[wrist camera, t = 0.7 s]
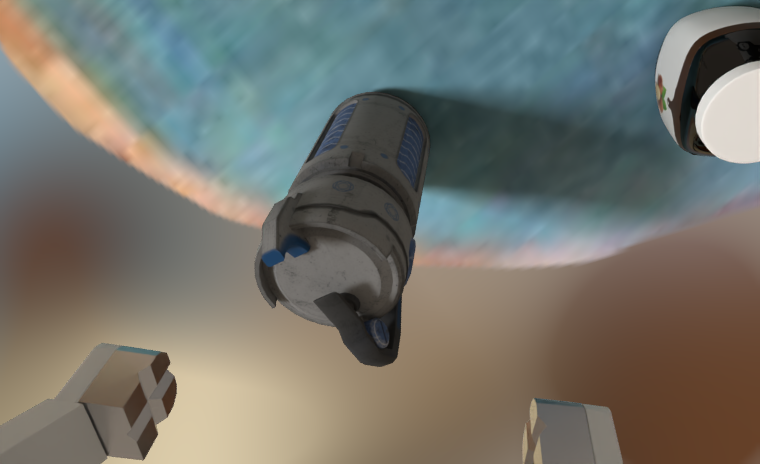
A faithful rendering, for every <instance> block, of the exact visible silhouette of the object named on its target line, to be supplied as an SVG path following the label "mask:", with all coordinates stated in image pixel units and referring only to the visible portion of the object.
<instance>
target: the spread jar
mask: <svg viewBox="0 0 760 464" xmlns="http://www.w3.org/2000/svg"><path fill="white" fill-rule="evenodd" d="M655 89H656V97H657V103H658V108H659V111H660V115H661V118H662V120H663V122H664V124H665V126H666V128H667V129H668V131H669V133H670V134H671V136H672V137H673V139H674V140H675V142H676V143H677V144H678V145H679V146H680V147H681V148H682V149H683V150H685V151H687V152H689V153H691V154H693V155H700V156H709V157H718V158H720V159H723V160H725V161H728V162H733V163H754V162H760V9H758V8H753V7H745V6H727V7H717V8H711V9H706V10H702V11H699V12H696V13H693V14H690V15H688V16H686V17H684V18H682V19H680V20H679V21H678V22H676V23H675V24H674V25H673V26H672V28H671V29H670V30H669V32H668V33H667V35H666V37H665V39H664V41H663V43H662V45H661V48H660V51H659V54H658V57H657V62H656V68H655Z"/></svg>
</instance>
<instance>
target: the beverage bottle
mask: <svg viewBox="0 0 760 464" xmlns="http://www.w3.org/2000/svg"><path fill="white" fill-rule="evenodd" d="M429 151H430V137H429V133H428V129H427V126H426V124H425V122H424V120H423V118H422V117H421V116H420V114H419V113H418V112H417V111H416V110H415V109H414V108H413V107H412V106H411V105H410V104H409V103H407V102H406V101H404V100H402V99H400V98H399V97H396V96H393V95H391V94H387V93H381V92H366V93H361V94H357V95H355V96H352V97H350V98H348V99H346V100H345V101H344V102H342V103H341V104H340V105H339V106H338V107H337V108H336V109H335V110H334V111H333V113H332V114H331V116H330V118H329V120H328V122H327V123H326V125H325V127H324V129H323V130H322V132H321V134H320V136H319V137H318V139H317V141H316V143H315V145H314V146H313V148H312V150H311V152H310V153H309V155H308V157H307V159H306V160H305V162H304V164H303V166H302V168H301V169H300V171H299V173H298V175H297V176H296V178H295V180H294V182H293V184H292V185H291V187H290V189H289V192H288V195H287V196H286V197H285V198H284V199H283V200H281V201H279V202H278V203H276V204H274V206H273V208H272V210H271V211H270V213H269V215H268V216H267V218H266V220H265V222H264V223H263V226H262V240H261V243H260V245H259V247H258V249H257V254H256V258H255V278H256V282H257V285H258V288H259V289H260V292H261V294H262V295H263V297H264V298H265V300H266V301H267V302H268V303H269V305H270V306H271V307H272V308H275V307H276V301H277V300H278V301H279V302H280V303H281V304H282V305H283V306H285V307H286V308H288V309H289V310H290V311H292V312H293V313H295V314H296V315H298V316H300V317H303V318H304V319H307V320H309V321H312V322H315V323H318V324H321V325H327V326H332V327H336V328H337V329H338V330H339V332H340V335H341V337H342V340H343V343H344V344H345V345H346V346H347V348H348V349H349V350H350V351H351V352H352V354H353V355H354V356H355V357H356V358H357V359H358V360H359V361H360V363H363V364H365V365H371V366H377V367H382V366H385V365H388V364H391V363H393V362H394V361H395V359H396V358H397V355H398V348H399V342H400V335H401V334H400V333H401V303H402V301H401V300H402V293H403V289H404V286H405V285H406V283H407V281H408V279H409V277H410V274H411V270H412V265H413V259H414V253H415V247H416V245H415V240H414V239H413V237H414V235H415V230H416V224H417V219H418V213H419V207H420V202H421V196H422V190H423V185H424V179H425V173H426V168H427V162H428V157H429Z"/></svg>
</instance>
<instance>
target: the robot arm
mask: <svg viewBox="0 0 760 464" xmlns="http://www.w3.org/2000/svg"><path fill="white" fill-rule="evenodd" d="M169 365H170V360H169V357H168V355H167V353H165V352H160V351H153V350H147V349H140V348H134V347H127V346H120V345H113V344H105V343H101V344H99V345H98V346H96V347H95V348H94V349H93V350H92V351H91V352H90V354H89V355H88V357H87V358H86V359H85V360H84V361H83V363H82V364H81V365H80V367H79V368H78V369H77V370H76V372H75V373H74V374H73V376H72V377H71V378H70V380H69V381H68V382H67V383H66V385H65V386H64V387H63V389H62V390H61V391H60V393H59V394H58V395H57V396H56V398H55V399H47V400H45V401H43V402H41V403H40V404H38V405H36V406H34V407H32V408H31V409H29V410H27V411H25V412H24V413H22V414H20V415H18V416H17V417H15V418H13V419H11V420H9V421H8V422H6V423H4V424H2V425H1V426H0V464H101V463H102V462H103V461H105V460H106V459H107V456H112V457H120V458H128V459H136V460H144V459H145V457H146V455H147V454H148V452H149V450H150V448H151V446H152V445H153V443H154V441H155V439H156V437H157V435H158V431H157V426H156V425H157V424H158V423H159V422H161V421H163V420H164V419H166V418H167V417H168V415H169V413H170V412H171V410H172V408H173V405H174V402H175V398H176V394H177V384H176V380H175V377H174V375H173V374H171V373H170V372H169V371H168V370H167V368H168V366H169ZM522 451H523V454H522V455H523V464H623V461H622V457H621V453H620V448H619V444H618V440H617V436H616V432H615V427H614V423H613V418H612V415H611V411H610V410H609V408H608V407H601V406H594V405H586V404H581V403H573V402H564V401H556V400H547V399H537V398H534V399H533V400H532V402H531V406H530V420H529V421H528V422H526V425H525V430H524V436H523V446H522Z"/></svg>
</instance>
